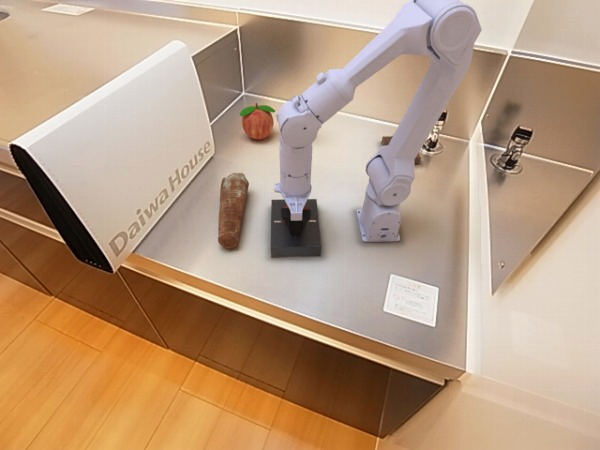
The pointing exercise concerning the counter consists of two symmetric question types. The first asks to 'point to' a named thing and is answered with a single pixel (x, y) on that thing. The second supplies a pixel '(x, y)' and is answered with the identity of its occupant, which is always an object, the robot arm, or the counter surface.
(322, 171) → the counter surface
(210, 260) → the counter surface
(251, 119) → the fruit
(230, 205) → the bread
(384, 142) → the button block
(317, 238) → the panel
